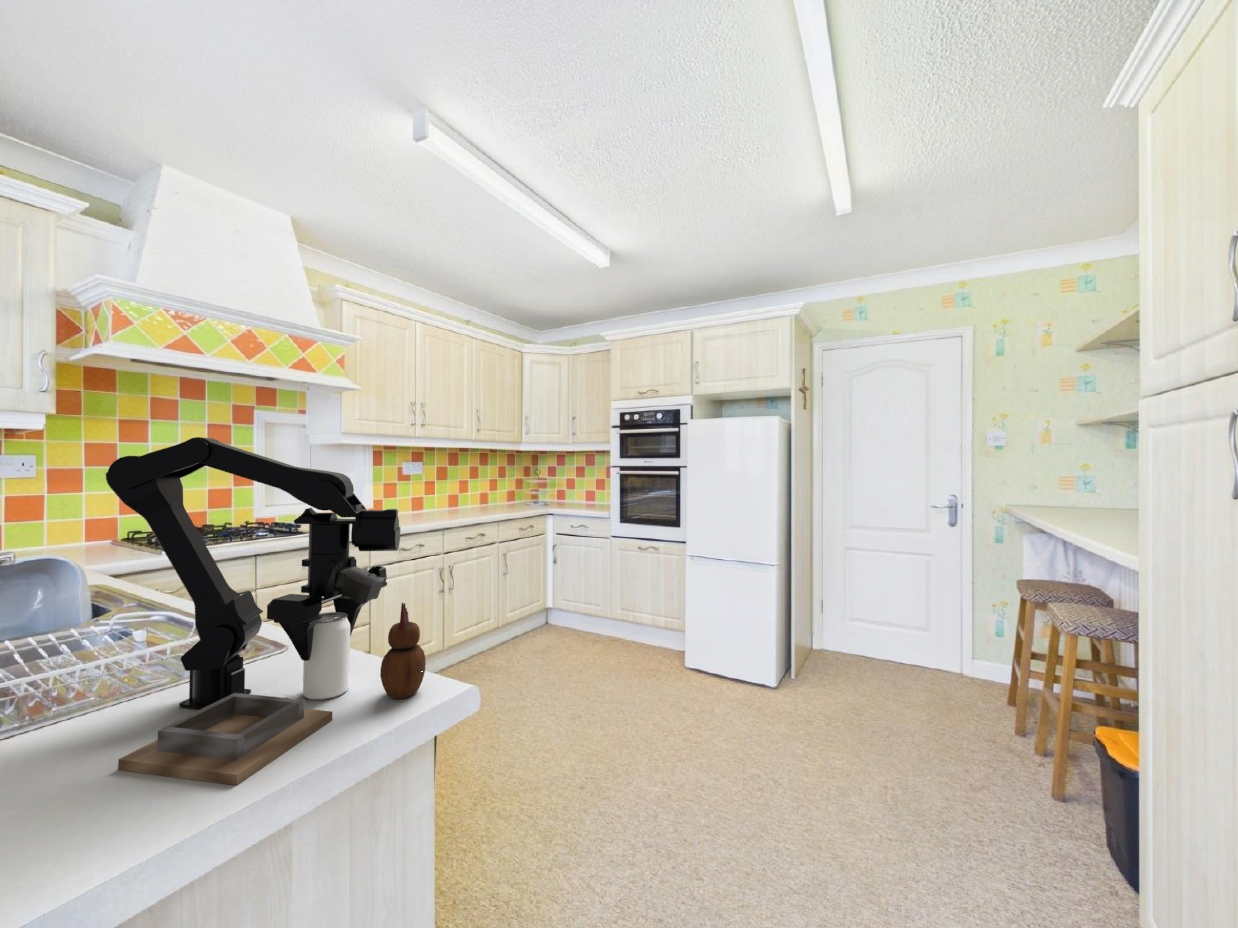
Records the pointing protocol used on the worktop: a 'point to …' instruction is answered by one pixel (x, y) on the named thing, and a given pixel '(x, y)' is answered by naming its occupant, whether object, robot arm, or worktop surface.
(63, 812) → the worktop surface
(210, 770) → the holder
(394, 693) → the wooden figurine
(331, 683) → the can
